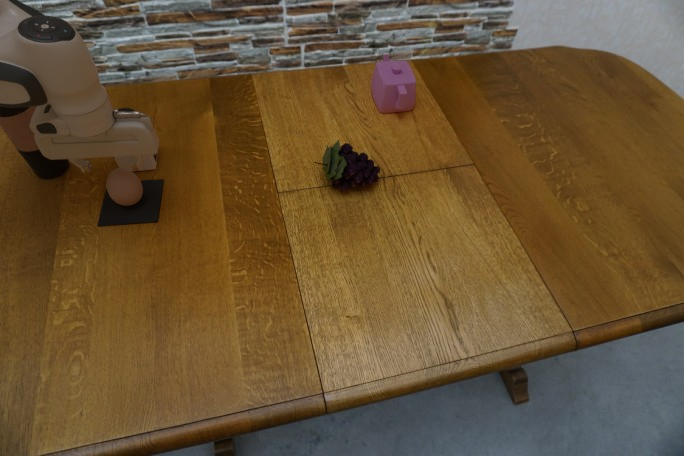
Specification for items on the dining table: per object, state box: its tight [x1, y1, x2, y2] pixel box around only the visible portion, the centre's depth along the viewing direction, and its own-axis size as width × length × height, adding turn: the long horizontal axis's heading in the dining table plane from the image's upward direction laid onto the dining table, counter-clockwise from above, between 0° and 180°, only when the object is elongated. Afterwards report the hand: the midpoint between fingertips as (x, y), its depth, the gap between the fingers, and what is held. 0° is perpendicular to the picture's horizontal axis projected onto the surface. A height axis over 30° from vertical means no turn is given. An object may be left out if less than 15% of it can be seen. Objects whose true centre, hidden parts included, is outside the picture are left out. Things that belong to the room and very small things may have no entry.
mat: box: [96, 178, 165, 228], centre depth 99 cm, size 12×12×1 cm
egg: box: [105, 167, 143, 206], centre depth 95 cm, size 7×7×9 cm
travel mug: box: [0, 106, 70, 180], centre depth 96 cm, size 8×8×20 cm
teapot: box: [370, 54, 417, 114], centre depth 120 cm, size 18×10×10 cm, turn 11°
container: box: [113, 107, 159, 172], centre depth 102 cm, size 8×8×13 cm
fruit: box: [313, 139, 381, 192], centre depth 102 cm, size 10×11×15 cm
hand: (113, 169), depth 91 cm, fingers open, 8 cm apart
